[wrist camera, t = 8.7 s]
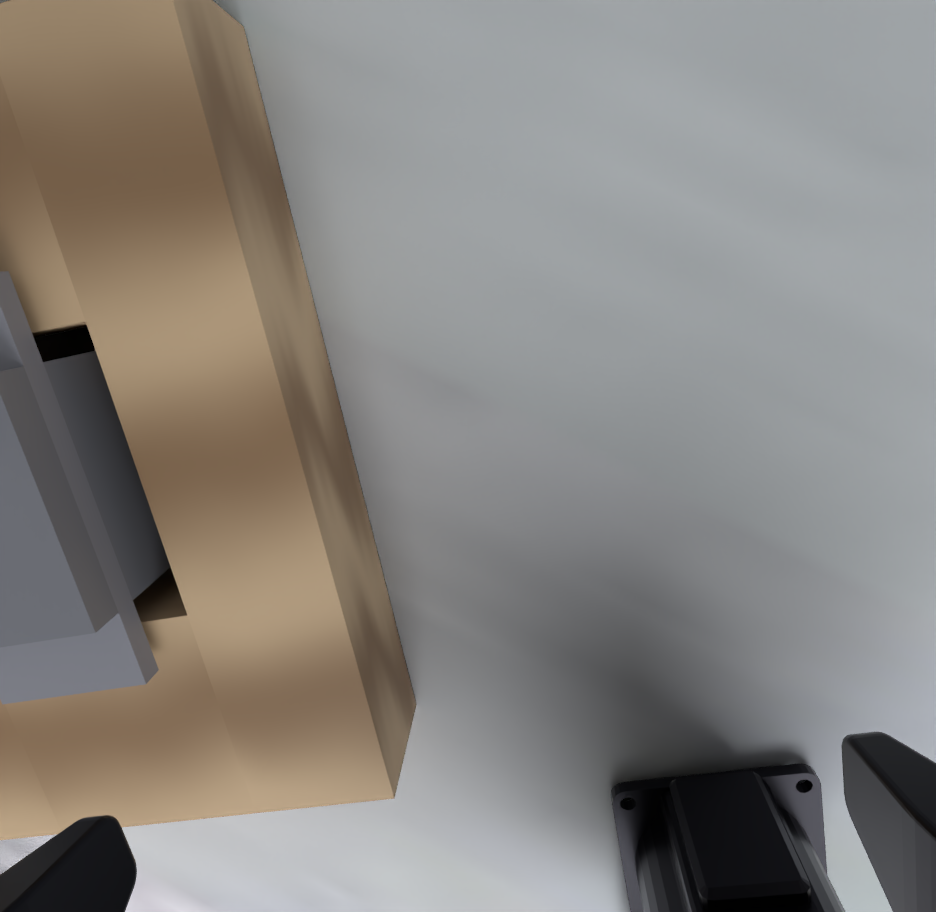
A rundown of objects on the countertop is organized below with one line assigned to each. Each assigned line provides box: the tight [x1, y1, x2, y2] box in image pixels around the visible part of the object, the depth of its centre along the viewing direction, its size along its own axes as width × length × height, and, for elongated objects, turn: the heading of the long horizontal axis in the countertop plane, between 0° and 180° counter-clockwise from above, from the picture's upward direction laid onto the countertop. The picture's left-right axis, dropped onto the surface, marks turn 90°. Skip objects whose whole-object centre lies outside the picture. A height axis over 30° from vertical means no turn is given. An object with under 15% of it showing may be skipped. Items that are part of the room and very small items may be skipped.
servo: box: [0, 271, 171, 704], centre depth 17 cm, size 10×4×7 cm, turn 12°
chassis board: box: [0, 0, 416, 840], centre depth 18 cm, size 20×14×4 cm
